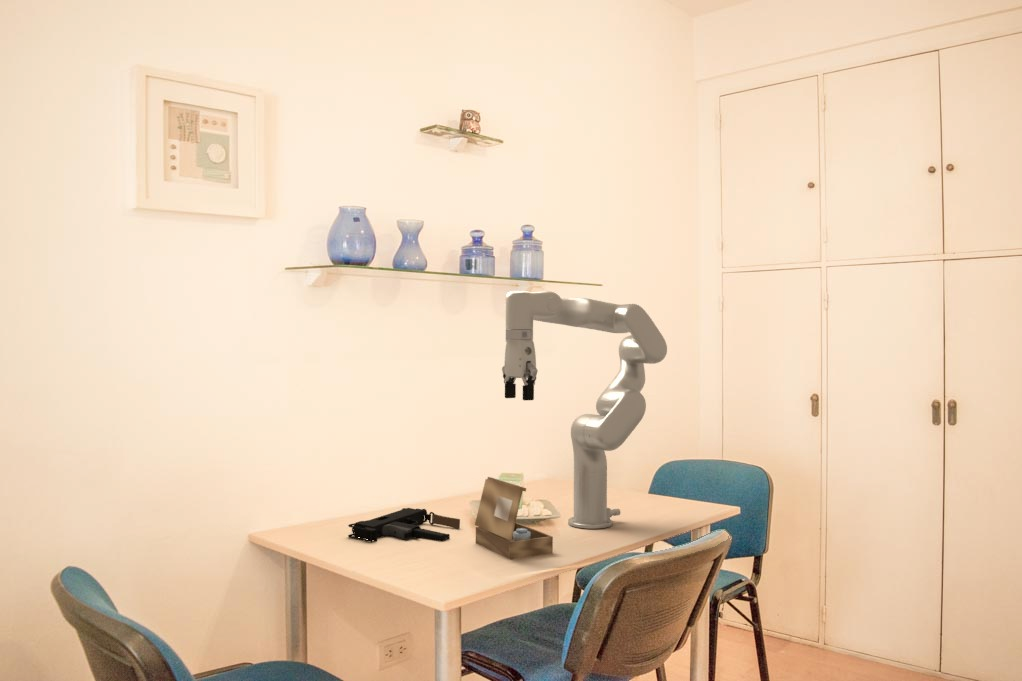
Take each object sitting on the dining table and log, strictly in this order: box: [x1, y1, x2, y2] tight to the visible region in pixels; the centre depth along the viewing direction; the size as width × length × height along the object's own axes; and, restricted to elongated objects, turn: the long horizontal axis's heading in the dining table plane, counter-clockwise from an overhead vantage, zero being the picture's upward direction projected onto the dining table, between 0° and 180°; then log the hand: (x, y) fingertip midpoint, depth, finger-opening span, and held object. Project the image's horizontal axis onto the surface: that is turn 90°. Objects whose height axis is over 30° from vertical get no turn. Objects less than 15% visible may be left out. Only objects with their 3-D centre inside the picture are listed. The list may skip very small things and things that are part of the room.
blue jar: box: [513, 528, 531, 541], centre depth 199 cm, size 4×4×4 cm
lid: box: [474, 476, 527, 540], centre depth 196 cm, size 13×18×2 cm
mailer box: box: [475, 521, 554, 560], centre depth 197 cm, size 12×18×4 cm, turn 30°
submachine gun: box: [347, 507, 461, 543], centre depth 215 cm, size 4×29×25 cm
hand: (519, 399), depth 215 cm, fingers open, 9 cm apart
